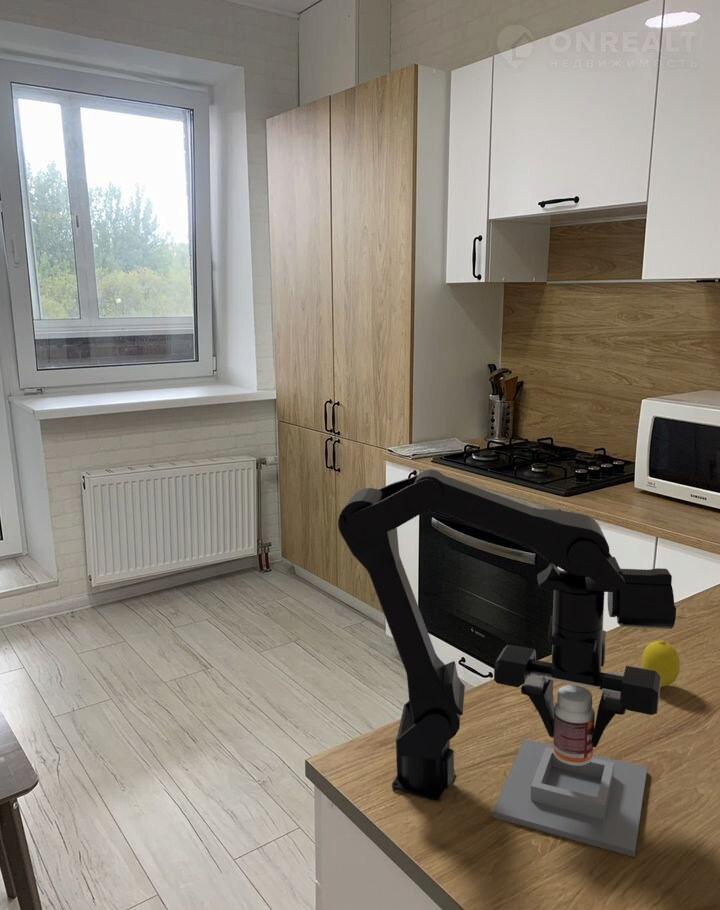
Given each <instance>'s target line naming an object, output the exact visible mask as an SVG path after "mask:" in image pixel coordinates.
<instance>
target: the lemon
mask: <svg viewBox="0 0 720 910" xmlns="http://www.w3.org/2000/svg"><path fill="white" fill-rule="evenodd" d="M641 668H642V669H647V670H653V671H656V672H657V673H658V674H659V676H660V677H661V685H660V689H661V688H663V687H667V686H670V685H672V684H673V683H674V682H676V680H677V678H678V676H679V675H680V670H681V662H680V656H679V653H678V651H677V650H676V648H675V647H674V646H673V644H670V643H669V642H667V641H665V640H664V639H660V640H656V641H652V642H651V643H649V644H647V646H646V647H645V648H644V651H643V653H642V658H641Z"/></svg>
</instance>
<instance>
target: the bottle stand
mask: <svg viewBox="0 0 720 910" xmlns="http://www.w3.org/2000/svg"><path fill="white" fill-rule="evenodd" d="M647 774H648V766H645V765H640V764H636V763H631V762H627V761H623V760H618V759H613V758H610V757H605V756H600V755H596V754H593V758H592V760H591V761H590V762H589V763H588V764H585V765H581V766H574V765H569V764H566V763H563V762H561V761H560V760H558V759H557V758H556V757H555V755H554V753H553V744H550V743H549V744H548V743H544V742H540V741H536V740H530V739H529V738H523V740H522V743H521V745H520V748H519V750H518V752H517V753H516V756H515V759H514V762H513V763H512V765H511V768H510V771H509V773H508V775H507V777H506V780H505V782H504V784H503V787H502V789H501V791H500V794H499V796H498V798H497V800H496V803H495V805H494V807H493V810H492V818H495V819H497V820H502V821H505V822H508V823H512V824H516V825H519V826H523V827H527V828H530V829H533V830H536V831H540V832H543V833H547V834H550V835H554V836H557V837H561V838H564V839H567V840H571V841H576V842H579V843H583V844H585V845H590V846H593V847H597V848H600V849H604V850H607V851H611V852H615V853H618V854H622V855H625V856H628V857H632V858H635V856H636V849H637V844H638V843H637V842H638V835H639V829H640V822H641V815H642V808H643V802H644V801H643V800H644V795H645V788H646V781H647Z"/></svg>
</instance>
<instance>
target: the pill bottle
mask: <svg viewBox="0 0 720 910" xmlns="http://www.w3.org/2000/svg"><path fill="white" fill-rule="evenodd" d="M556 700H557V702H556V703H555V704H554V736H553V738H552V739H553V741H552V742H553V744H552V745H553V753H554V755H555V757H556V758H557V759H558V760H560V761H561V762H563V763H566V764H569V765H574V766H581V765H585V764H588V763H589V762H590V761H591V760H592V758H593V755H594V747H593V733H594V728H595V721H596V719H595V718H596V716H595V715H596V712H595V710H594V708H593V694H592V692H591V691H590V690H589V689H587V688H586V687H584V686H580V685H575V684H571V685H570V684H569V685H564V686H561V687H560V688H559V689H558V690H557V699H556Z"/></svg>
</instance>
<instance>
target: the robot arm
mask: <svg viewBox="0 0 720 910" xmlns="http://www.w3.org/2000/svg"><path fill="white" fill-rule="evenodd" d="M428 511H434V512H437V513H440V514H443V515H444V516H448V517H451V518H454V519H456V520H458V521H461V522H463V523H466V524H469V525H472V526H475V527H478V528H480V529H483V530H486V531H488V532H492V533H494V534H496V535H499V536H502V537H504V538H507V539H511V540H513V541H516V542H517V543H520V544H523V545H525V546H527V547H528V548H530V549H531V550H533V551H534V552H535V553H536V554H538V555H539V556H540V557H542V559H544V560H546V561H547V562H549V564H548V566H547V567H546V568H545V569H544V570H542V571H541V572H539V573H537V575H536V576H537V584H538V587H539V589H540V590H541V591H542V590H545V591H553V600H552V601H553V602H552V603H553V605H552V607H553V608H552V615H551V616H550V619H549V626H548V633H547V634H548V635H547V640H548V642H551V662H549V661H543V660H538V659H537V652H536V649H535V648H531V647H525V646H518V645H515V644H514V645H513V644H507V645H506V646H505V647H503V649H502V651H501V652H500V654H499V655H498V657H497V659H496V660H495V662H494V667H493V681H494V682H496V684H500V685H504V686H508V687H513V688H519V687H520V686H521V687H520V692H521V695H525V696H527V697H528V698H529V699H530V701H531V703H532V704H533V706H534V707H535V709H536V710H537V712H538V714H539V716H540V719H541V721H542V722H543V725H544V727H545V729H546V732H547V734H548V737H550V738H552V739H553V736H554V707H555V702H554V682H555V681H556V682H560V683H564V684H565V683H566V684H569V685H570V684H571V685H575V686H580V687H584V688H590V689H591V688H592V689H594V690H596V689H597V690H601V696H600V700H599V703H598V707H597V713H596V716H595V718H596V719H595V721H594V733H593V748H597V746H598V744H599V743H600V741H601V738H602V737H603V734H604V731H605V730H606V728H607V726H608V725H609V723H610V722H611V721H612V720H613V718H614V717H615V716H616V715H621V716H622V715H625V714H626V711H630V712H636V713H639V714H644V715H649V716H653V715H656V714H658V710H659V701H660V694H661V688H660V685H661V677H660V676H659V674H658V673H657V672H656V671H653V670H647V669H642V667H636V666H629V665H626V666H625V669H624V671H623V672H624V673H621V672H616V671H610V672H602V667H605V663H606V636H607V635H606V634H607V631H606V630H604V629H603V628H604V611H605V609H604V607H605V593H607V611H608V615H609V618H616V623H617V624H618V625H619V627H623V628H624V627H626V628H629V627H630V628H644V629H645V628H646V629H647V628H648V629H662V630H663V629H664V630H665V629H666V630H673V628H674V627H675V622H676V618H677V607H676V604H675V597H674V590H673V585H672V584H673V583H672V581H673V580H672V579H673V576H672V574H671V572H670V570H669V569H668V568H651V569H640V568H639V569H638V568H637V569H636V568H621V567H620V566H619V563H618V560H617V559H616V557H615V556H612V554H611V553H610V546H609V544H608V541H607V538H606V537H605V535H604V532H603V531H602V530H603V529H602V528H601V526H600V524H599V523H598V522H597V521H596V520H595V519H594V518H593V517H590V516H589V515H587V514H582V513H578V512H573V511H568V510H567V511H566V510H561V509H542V508H537V507H532V506H529V505H526V504H523V503H520V502H518V501H515V500H513V499H510V498H507V497H504V496H502V495H499V494H497V493H495V492H490V491H487V490H485V489H482V488H480V487H478V486H474V485H471V484H469V483H467V482H463V481H460V480H458V479H455V478H452V477H450V476H447V475H445V474H444V473H442V472H441V471H439V470H436V469H425V470H423V471H421V472H420V473H417V474H416V475H414V476H412V477H408V478H404V479H402V480H399V481H395V482H392V483H390V484H388V485H385V486H383V487H381V488H379V489H377V488H372V487H367V488H365V487H364V488H362V489H360V490H357V491H356V492H355V493H354V494H353V495H352V496H351V497H350V498H349V500H348V501H347V503H346V505H345V506H344V507H343V509H342V510H341V512H340V514H339V517H338V519H337V526H338V532H339V533H340V535H341V537H342V539H343V542H345V544H346V546H347V548H348V549H349V551H350V553H351V554H352V556H353V557H354V558H355V559H356V560H357V562H359V564H360V565H361V566H362V567H363V568H364V569H365V571H367V573H368V575H369V577H370V578H369V579H370V581H371V583H372V585H373V586H372V587H373V588H374V592H375V594H376V596H377V599H378V602H379V604H380V607H381V609H382V612H383V615H384V617H385V620H386V623H387V625H388V629H389V631H390V633H391V636H392V639H393V641H394V644H395V647H396V649H397V652H398V655H399V657H400V660H401V663H402V665H403V668H404V670H405V673H406V679H407V680H406V681H407V690H408V691H407V692H408V701H407V702H406V703H404V705H403V709H402V713H401V717H400V722H399V728H398V730H397V734H396V735H397V737H395V745H396V746H395V751H396V752H395V755H396V777H395V778H394V780H393V781H392V782H391V788H392V789H393V790H395V791H398V792H402V793H406V794H410V795H413V796H417V797H420V798H424V799H427V800H431V801H433V802H439V801H440V800H441V798H442V797H443V795H444V794H445V791H446V790H448V789H449V787H450V785H451V784H452V782H453V780H454V778H455V758H454V757H455V752H454V749H453V748H451V740H452V739H453V738H454V737H456V735H457V734H458V732H459V730H460V725H461V716H463V713H464V704H465V703H464V702H465V691H466V690H465V689H466V687H465V684H464V683H463V682H462V681H461V680H460V677H459V674H458V670H457V664H456V661H454V660H453V661H451V662H449V663H446V664H445V663H444V661H442V660H441V659H440V658H439V656H438V655H437V653H436V650H435V649H434V646H433V642H432V640H431V637H430V634H429V631H428V630H427V626H426V624H425V621H424V618H423V615H422V613H421V611H420V608H419V605H418V601H417V599H416V596H415V594H414V591H413V588H412V587H411V583H410V580H409V577H408V576H407V572H406V570H405V566H404V564H403V562H402V559H401V555H400V549H399V548H400V547H399V535H398V528H399V527H400V526H402V525H404V524H405V523H407V522H409V521H411V520H412V519H415V518H416V517H418V516H419V515H421V514H424V513H426V512H428Z"/></svg>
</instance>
